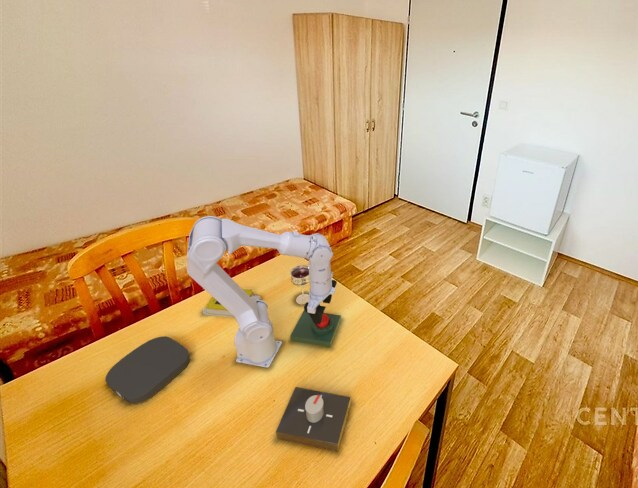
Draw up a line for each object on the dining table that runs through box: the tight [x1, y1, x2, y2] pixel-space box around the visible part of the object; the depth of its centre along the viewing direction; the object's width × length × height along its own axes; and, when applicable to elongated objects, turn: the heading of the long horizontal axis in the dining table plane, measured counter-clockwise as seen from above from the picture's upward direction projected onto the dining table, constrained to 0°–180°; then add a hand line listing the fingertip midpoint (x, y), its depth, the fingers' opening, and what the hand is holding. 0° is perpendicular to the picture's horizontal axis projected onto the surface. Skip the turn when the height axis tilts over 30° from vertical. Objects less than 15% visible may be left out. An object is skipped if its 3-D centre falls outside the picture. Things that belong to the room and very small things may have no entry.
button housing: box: [290, 310, 342, 348], centre depth 96 cm, size 12×10×4 cm
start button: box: [317, 314, 329, 328], centre depth 94 cm, size 4×4×2 cm
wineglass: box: [289, 264, 310, 305], centre depth 105 cm, size 7×7×12 cm
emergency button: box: [201, 288, 262, 319], centre depth 102 cm, size 9×4×15 cm
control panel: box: [275, 386, 352, 452], centre depth 73 cm, size 14×10×3 cm
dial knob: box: [305, 395, 324, 423], centre depth 72 cm, size 4×4×4 cm
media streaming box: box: [105, 336, 191, 405], centre depth 81 cm, size 15×15×3 cm
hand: (322, 312), depth 93 cm, fingers open, 7 cm apart
